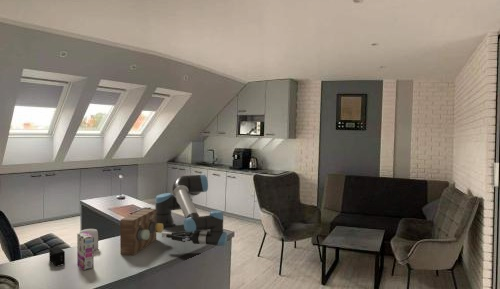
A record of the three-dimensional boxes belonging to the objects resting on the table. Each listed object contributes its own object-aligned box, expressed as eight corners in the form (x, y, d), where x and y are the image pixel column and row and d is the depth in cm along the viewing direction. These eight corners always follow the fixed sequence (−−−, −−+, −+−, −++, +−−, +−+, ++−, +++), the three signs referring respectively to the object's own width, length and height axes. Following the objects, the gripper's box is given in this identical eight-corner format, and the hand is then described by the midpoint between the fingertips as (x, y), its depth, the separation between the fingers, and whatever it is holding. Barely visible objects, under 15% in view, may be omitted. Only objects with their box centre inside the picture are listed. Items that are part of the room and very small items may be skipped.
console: (145, 238, 208) (144, 208, 208) (158, 239, 206) (158, 209, 206) (120, 254, 181) (120, 219, 180) (135, 255, 179) (135, 220, 178)
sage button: (145, 237, 188) (145, 228, 188) (149, 237, 188) (149, 228, 188) (140, 240, 183) (140, 231, 183) (145, 241, 182) (145, 231, 182)
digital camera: (46, 261, 170) (46, 248, 170) (58, 258, 174) (58, 246, 174) (53, 267, 163) (52, 254, 163) (64, 264, 167) (64, 251, 167)
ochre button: (159, 230, 202) (159, 222, 202) (163, 231, 201) (163, 222, 201) (155, 233, 196) (154, 224, 196) (159, 233, 196) (159, 224, 195)
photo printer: (78, 251, 184) (78, 230, 184) (80, 249, 189) (80, 228, 188) (97, 250, 187) (97, 229, 186) (99, 247, 191) (98, 227, 191)
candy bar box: (94, 267, 162) (94, 236, 162) (83, 270, 159) (83, 238, 158) (87, 261, 170) (86, 231, 170) (76, 264, 167) (76, 233, 166)
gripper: (196, 247, 176) (157, 244, 181) (204, 240, 189) (167, 237, 194) (196, 234, 176) (157, 231, 181) (204, 227, 189) (167, 225, 193)
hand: (162, 234), depth 187 cm, fingers closed
